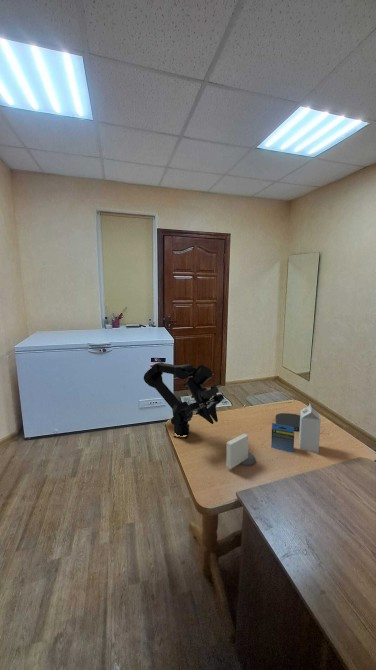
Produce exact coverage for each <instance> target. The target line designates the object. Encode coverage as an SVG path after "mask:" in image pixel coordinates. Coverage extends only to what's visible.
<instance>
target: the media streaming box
mask: <svg viewBox="0 0 376 670" xmlns="http://www.w3.org/2000/svg"><path fill="white" fill-rule="evenodd" d="M275 424H281V425H286V426H292V427H294V432H299V431H300V414H297V413H290V412H289V413H288V412H282V413H277V414H275ZM279 428H281V429H286V428H284V427H279Z"/></svg>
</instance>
